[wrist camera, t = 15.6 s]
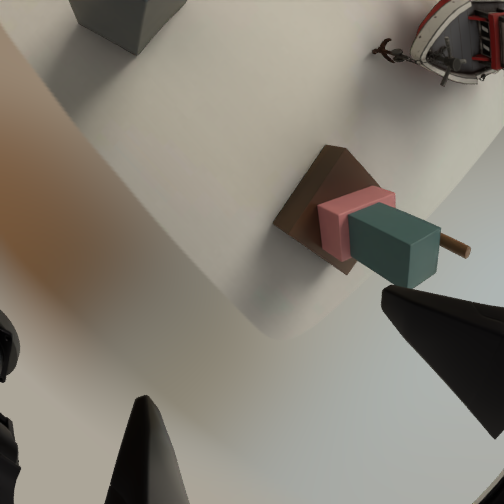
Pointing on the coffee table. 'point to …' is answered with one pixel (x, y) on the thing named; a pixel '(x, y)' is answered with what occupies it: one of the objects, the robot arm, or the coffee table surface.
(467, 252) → the peg stacking toy
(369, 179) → the walnut block
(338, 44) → the coffee table surface
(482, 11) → the toy boat
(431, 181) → the coffee table surface
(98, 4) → the grey rectangular block
